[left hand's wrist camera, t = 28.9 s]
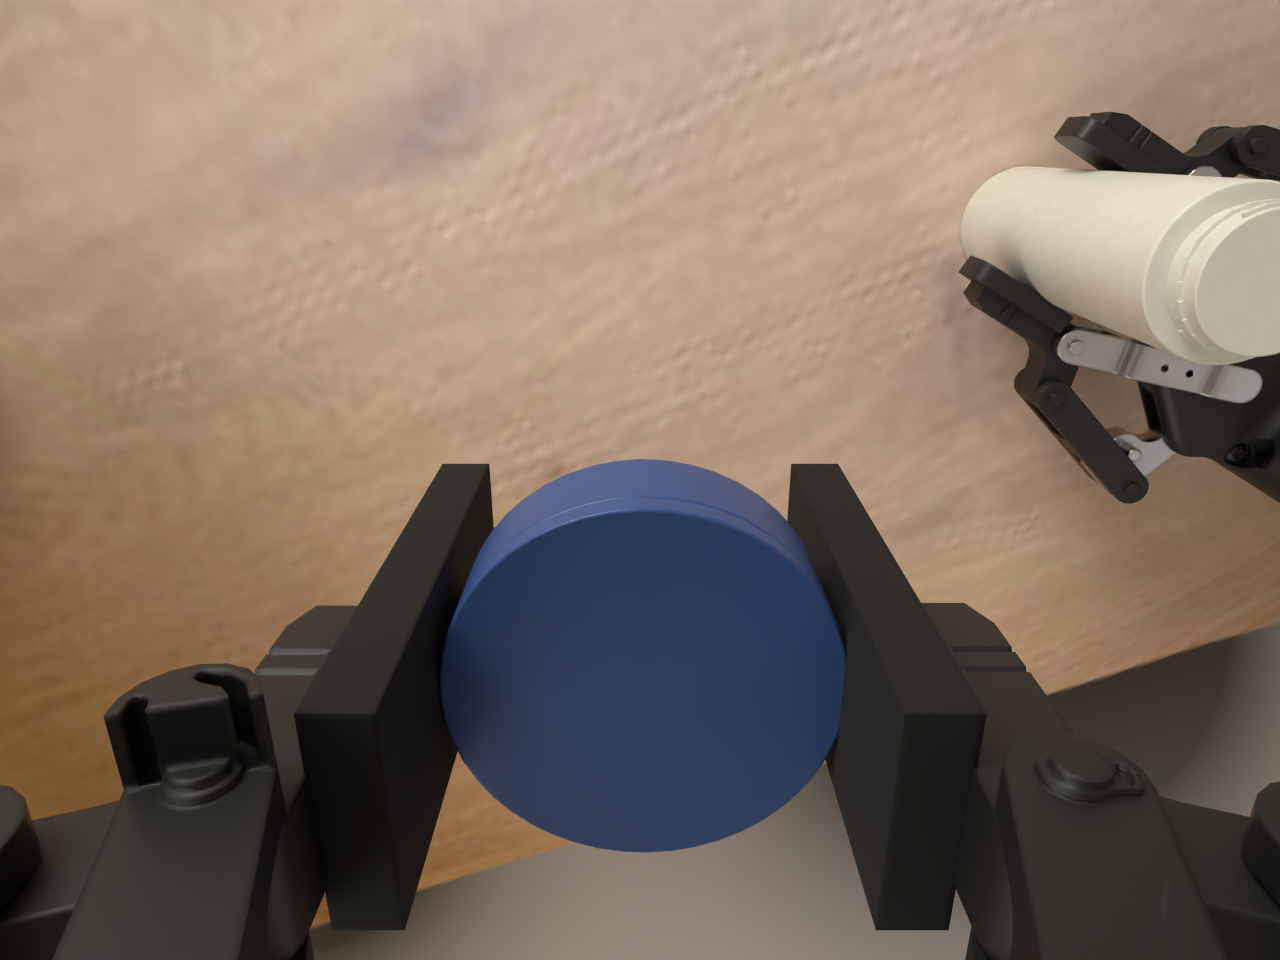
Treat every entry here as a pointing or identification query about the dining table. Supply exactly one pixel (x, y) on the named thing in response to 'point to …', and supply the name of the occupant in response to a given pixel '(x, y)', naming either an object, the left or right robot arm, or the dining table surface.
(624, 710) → the lid
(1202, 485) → the dining table surface
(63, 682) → the dining table surface
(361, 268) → the dining table surface
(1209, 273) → the jar
